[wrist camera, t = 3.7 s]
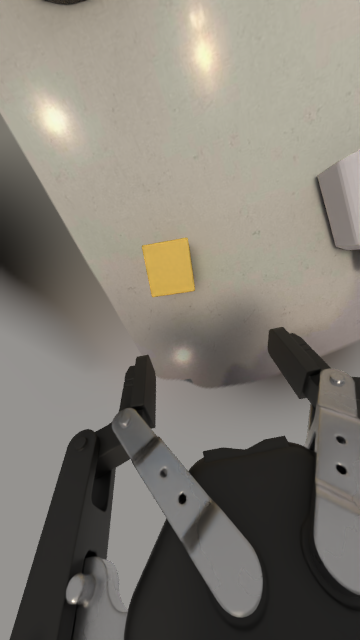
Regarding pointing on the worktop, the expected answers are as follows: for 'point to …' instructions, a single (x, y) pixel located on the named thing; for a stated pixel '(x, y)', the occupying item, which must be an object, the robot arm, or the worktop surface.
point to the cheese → (169, 267)
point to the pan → (64, 1)
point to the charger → (343, 200)
